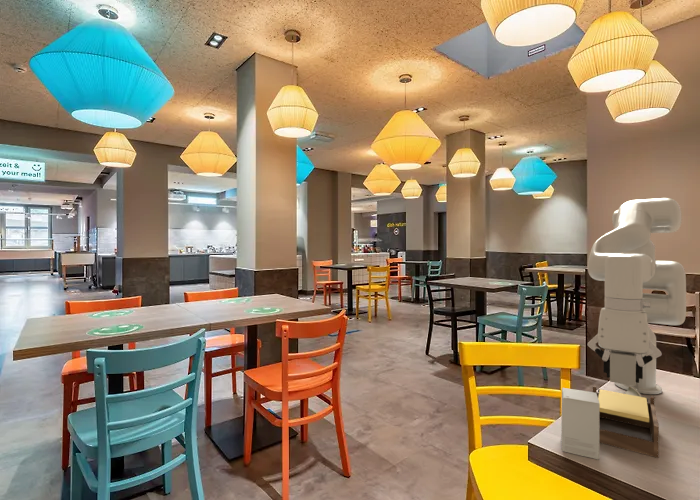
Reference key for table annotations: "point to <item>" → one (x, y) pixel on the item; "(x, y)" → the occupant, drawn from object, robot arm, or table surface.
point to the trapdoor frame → (628, 441)
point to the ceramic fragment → (633, 392)
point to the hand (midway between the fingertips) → (622, 377)
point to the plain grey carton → (623, 367)
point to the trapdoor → (623, 405)
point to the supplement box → (580, 423)
